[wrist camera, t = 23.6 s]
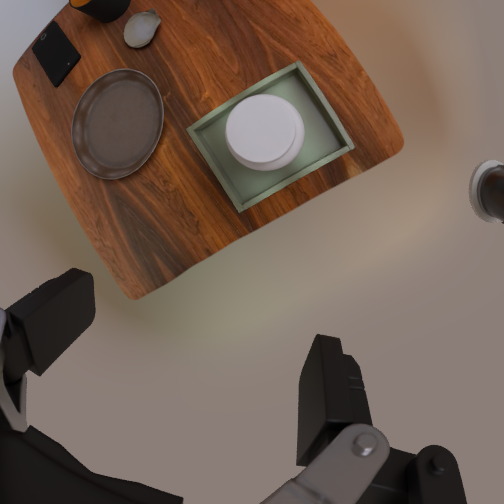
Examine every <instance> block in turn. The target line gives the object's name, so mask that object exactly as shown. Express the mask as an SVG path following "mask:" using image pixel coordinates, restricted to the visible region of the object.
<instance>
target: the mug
mask: <svg viewBox="0 0 504 504" xmlns="http://www.w3.org/2000/svg"><path fill="white" fill-rule="evenodd" d="M69 3H70V6H71V7H73V8H75V9H77V10H79V11H81V12H83V13H85V14H87V15H89V16H91V17H93V18H95V19H97V20H99V21H101V22H111V21H114V20H116V19H117V18H119V17H120V16H121V15H122V14H123V13H124V12H125V11H126V10H127V8H128V6H129V4H130V0H69Z"/></svg>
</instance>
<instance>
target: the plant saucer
mask: <svg viewBox="0 0 504 504" xmlns="http://www.w3.org/2000/svg"><path fill="white" fill-rule="evenodd" d="M163 120H164V109H163V102H162V98H161V95H160V92H159V90H158V88H157V86H156V85H155V83H154V82H153V81H152V80H151V79H150V78H149V77H148V76H147V75H145V74H144V73H142V72H139V71H137V70H133V69H117V70H114V71H111V72H108V73H106V74H104V75H102V76H101V77H99V78H98V79H96V80H95V81H94V82H93V83H92V84H91V85H90V86H89V87H88V88H87V89H86V91H85V92H84V93H83V95H82V97H81V98H80V100H79V102H78V104H77V106H76V109H75V112H74V116H73V120H72V128H71V137H72V144H73V148H74V151H75V154H76V156H77V158H78V160H79V162H80V163H81V165H82V166H83V167H84V168H85V169H86V170H87V171H88V172H90V173H91V174H92V175H94V176H97V177H99V178H103V179H118V178H122V177H125V176H127V175H130V174H131V173H133V172H134V171H136V170H137V169H139V168H140V167H141V166H142V165H143V164H144V163H145V162H146V161H147V159H148V158H149V157H150V155H151V154H152V152H153V151H154V149H155V147H156V145H157V143H158V141H159V138H160V135H161V131H162V127H163Z"/></svg>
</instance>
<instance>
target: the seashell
mask: <svg viewBox="0 0 504 504" xmlns="http://www.w3.org/2000/svg"><path fill="white" fill-rule="evenodd" d="M160 22H161V18H160V17H159V16H158V14H157V13H156V12H155V10H154V9H153V8H152V9H150V10H148V11H146V12H139V13H137V14H135V15H133V16H132V17H131V18H130V19H129V21H128V22H127V24H126V26H125V30H124V40H125V42H126V43H127V44H128V45H129V46H131V47H134V48H138V47H142V46H144V45H146V44H147V43H149V42H150V40H151V39H152V38H153V36H154V33H155V31H156V28H157V27H158V25H159V24H160Z"/></svg>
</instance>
